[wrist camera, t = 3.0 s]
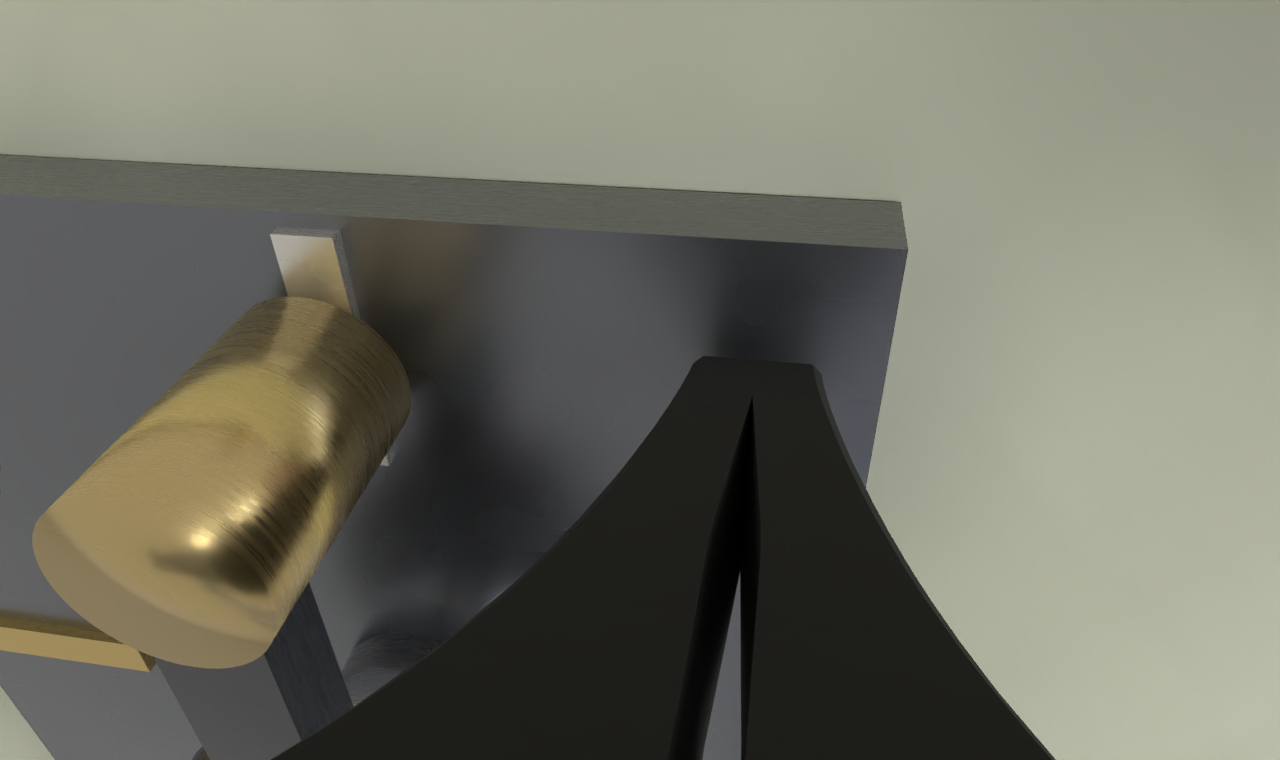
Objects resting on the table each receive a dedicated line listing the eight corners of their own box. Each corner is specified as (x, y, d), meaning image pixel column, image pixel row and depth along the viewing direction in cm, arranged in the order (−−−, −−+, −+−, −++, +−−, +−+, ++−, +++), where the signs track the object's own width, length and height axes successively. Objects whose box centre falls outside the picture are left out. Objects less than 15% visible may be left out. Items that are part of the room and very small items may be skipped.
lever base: (900, 202, 10) (928, 378, 8) (787, 880, 21) (781, 1067, 18) (-291, 139, 13) (-605, 255, 10) (127, 771, 23) (28, 919, 20)
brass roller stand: (592, 832, 17) (546, 1047, 14) (303, 785, 18) (206, 979, 15) (541, 315, 10) (432, 536, 7) (72, 279, 11) (-182, 466, 8)
